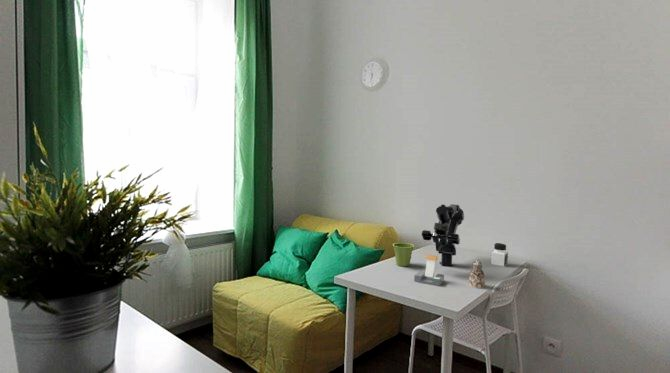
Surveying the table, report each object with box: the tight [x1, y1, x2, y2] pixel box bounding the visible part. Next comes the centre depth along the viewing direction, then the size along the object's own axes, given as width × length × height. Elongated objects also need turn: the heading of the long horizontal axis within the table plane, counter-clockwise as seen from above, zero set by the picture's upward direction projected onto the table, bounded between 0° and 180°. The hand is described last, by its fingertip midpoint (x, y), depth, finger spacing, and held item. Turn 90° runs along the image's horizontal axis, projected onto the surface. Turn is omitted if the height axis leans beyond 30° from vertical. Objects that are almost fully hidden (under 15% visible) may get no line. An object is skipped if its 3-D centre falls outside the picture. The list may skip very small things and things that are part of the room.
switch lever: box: [424, 253, 439, 278], centre depth 181 cm, size 3×5×10 cm, turn 60°
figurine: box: [468, 259, 486, 289], centre depth 175 cm, size 7×7×12 cm
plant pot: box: [392, 242, 415, 267], centre depth 207 cm, size 12×12×11 cm
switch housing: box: [413, 270, 445, 287], centre depth 180 cm, size 9×12×3 cm
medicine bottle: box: [490, 242, 509, 268], centre depth 212 cm, size 7×7×12 cm
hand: (436, 250), depth 190 cm, fingers closed
